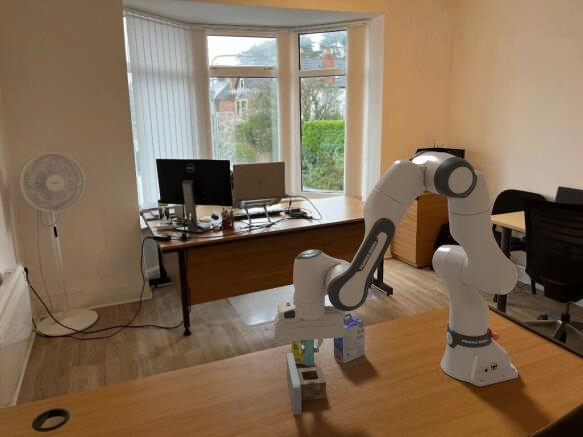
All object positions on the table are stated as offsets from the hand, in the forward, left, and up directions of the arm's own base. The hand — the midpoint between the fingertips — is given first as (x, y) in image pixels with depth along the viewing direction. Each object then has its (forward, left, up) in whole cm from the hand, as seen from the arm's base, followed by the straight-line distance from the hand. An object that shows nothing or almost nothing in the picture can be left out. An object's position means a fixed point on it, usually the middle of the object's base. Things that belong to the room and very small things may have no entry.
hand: (308, 352), depth 124 cm
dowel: (0, 0, -4) cm, 4 cm away
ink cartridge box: (-16, -17, -13) cm, 27 cm away
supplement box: (0, -16, -13) cm, 21 cm away
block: (0, 0, -13) cm, 13 cm away
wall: (+5, +1, -13) cm, 14 cm away
